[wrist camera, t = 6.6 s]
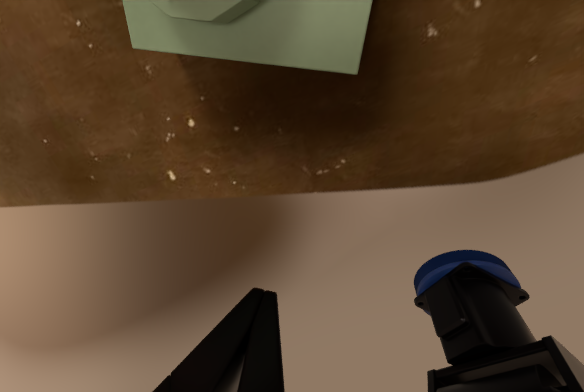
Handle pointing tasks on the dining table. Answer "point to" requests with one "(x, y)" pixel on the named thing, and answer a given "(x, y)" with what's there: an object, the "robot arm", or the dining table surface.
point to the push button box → (255, 30)
